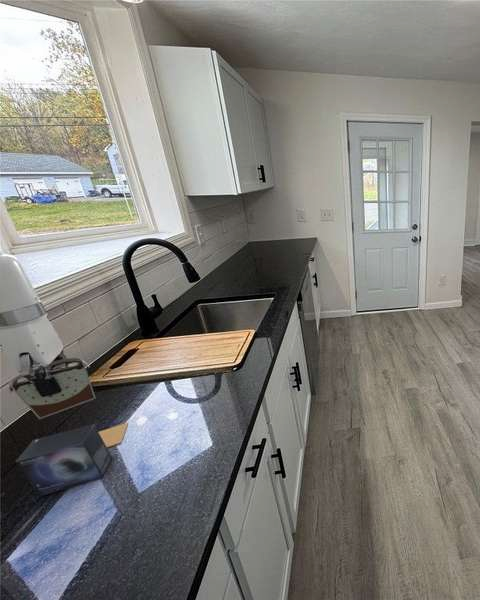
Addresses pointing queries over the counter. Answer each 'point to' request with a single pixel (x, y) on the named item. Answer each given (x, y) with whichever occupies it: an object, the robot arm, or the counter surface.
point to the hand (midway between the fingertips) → (58, 384)
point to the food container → (70, 381)
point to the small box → (65, 459)
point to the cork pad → (113, 435)
